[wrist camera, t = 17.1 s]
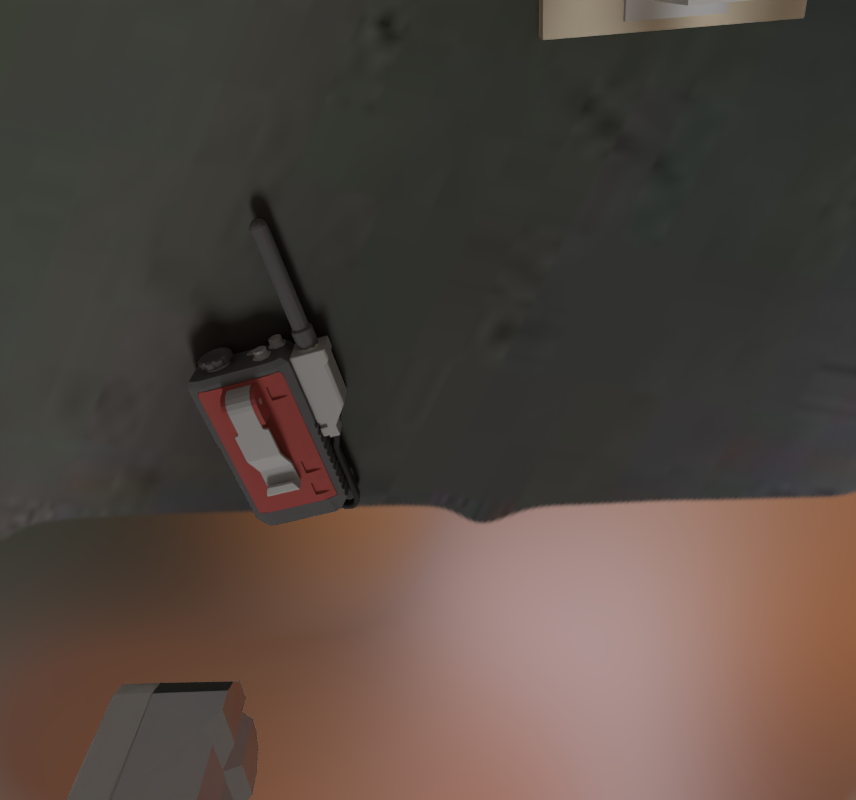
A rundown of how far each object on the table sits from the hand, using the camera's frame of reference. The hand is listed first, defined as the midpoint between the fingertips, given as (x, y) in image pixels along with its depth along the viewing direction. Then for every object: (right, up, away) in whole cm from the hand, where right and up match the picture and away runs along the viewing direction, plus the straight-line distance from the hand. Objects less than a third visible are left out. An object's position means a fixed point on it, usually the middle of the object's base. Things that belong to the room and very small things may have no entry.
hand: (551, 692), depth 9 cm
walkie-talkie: (-11, +5, +36) cm, 38 cm away
